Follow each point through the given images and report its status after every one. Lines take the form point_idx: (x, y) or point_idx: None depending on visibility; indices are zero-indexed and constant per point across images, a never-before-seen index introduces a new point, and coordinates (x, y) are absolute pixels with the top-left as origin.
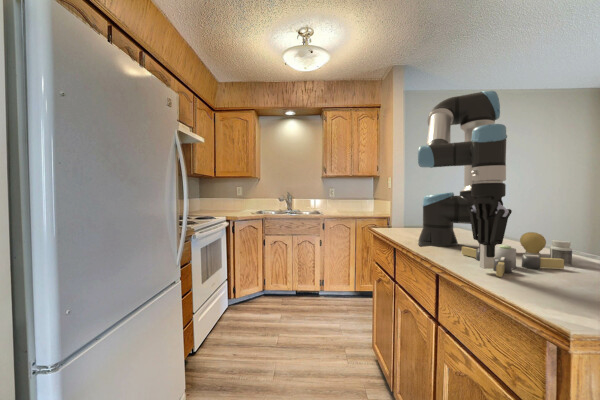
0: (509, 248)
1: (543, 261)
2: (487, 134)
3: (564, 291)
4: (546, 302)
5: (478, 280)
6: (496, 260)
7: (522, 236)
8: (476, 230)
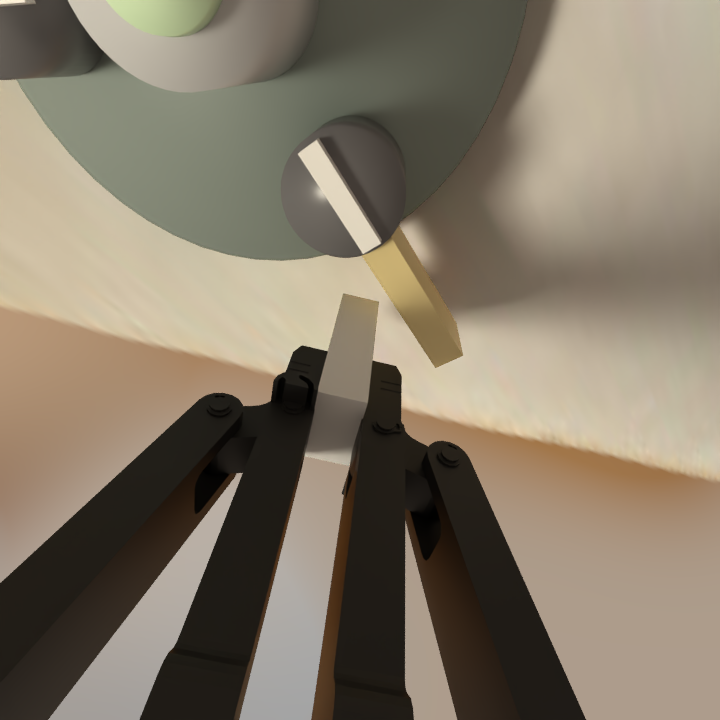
0: None
1: None
2: None
3: (700, 74)
4: (676, 347)
5: None
6: (340, 255)
7: None
8: (189, 523)
